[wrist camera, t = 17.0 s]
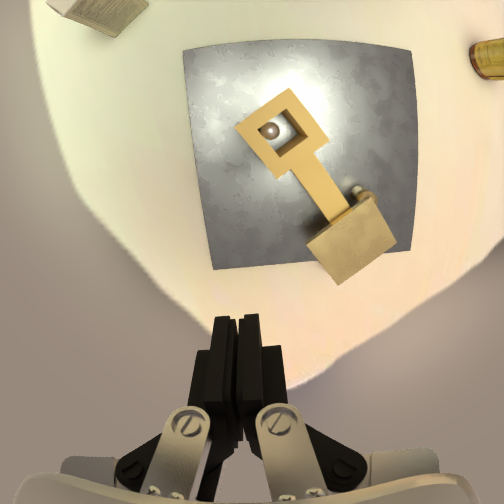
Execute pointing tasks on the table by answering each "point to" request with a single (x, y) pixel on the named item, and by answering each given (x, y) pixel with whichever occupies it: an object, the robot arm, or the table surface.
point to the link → (295, 151)
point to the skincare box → (100, 13)
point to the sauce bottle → (489, 59)
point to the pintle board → (330, 155)
